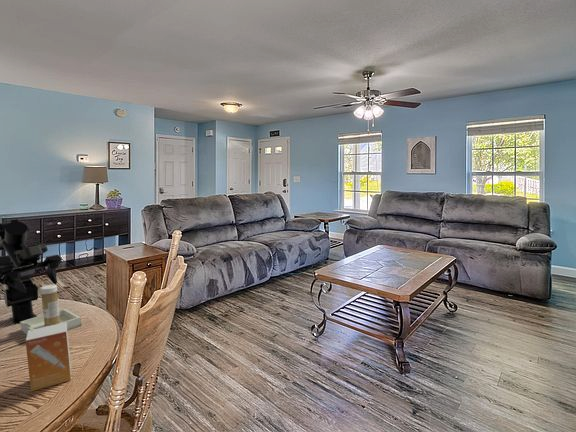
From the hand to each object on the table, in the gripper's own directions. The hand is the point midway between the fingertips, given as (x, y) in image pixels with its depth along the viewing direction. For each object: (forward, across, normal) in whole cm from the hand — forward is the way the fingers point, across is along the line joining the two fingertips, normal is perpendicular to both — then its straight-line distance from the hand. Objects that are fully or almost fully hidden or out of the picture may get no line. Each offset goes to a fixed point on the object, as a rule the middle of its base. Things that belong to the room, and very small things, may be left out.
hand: (41, 287), depth 110 cm
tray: (+12, 0, +7) cm, 14 cm away
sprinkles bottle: (+11, 0, +7) cm, 13 cm away
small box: (+34, -17, -14) cm, 40 cm away
